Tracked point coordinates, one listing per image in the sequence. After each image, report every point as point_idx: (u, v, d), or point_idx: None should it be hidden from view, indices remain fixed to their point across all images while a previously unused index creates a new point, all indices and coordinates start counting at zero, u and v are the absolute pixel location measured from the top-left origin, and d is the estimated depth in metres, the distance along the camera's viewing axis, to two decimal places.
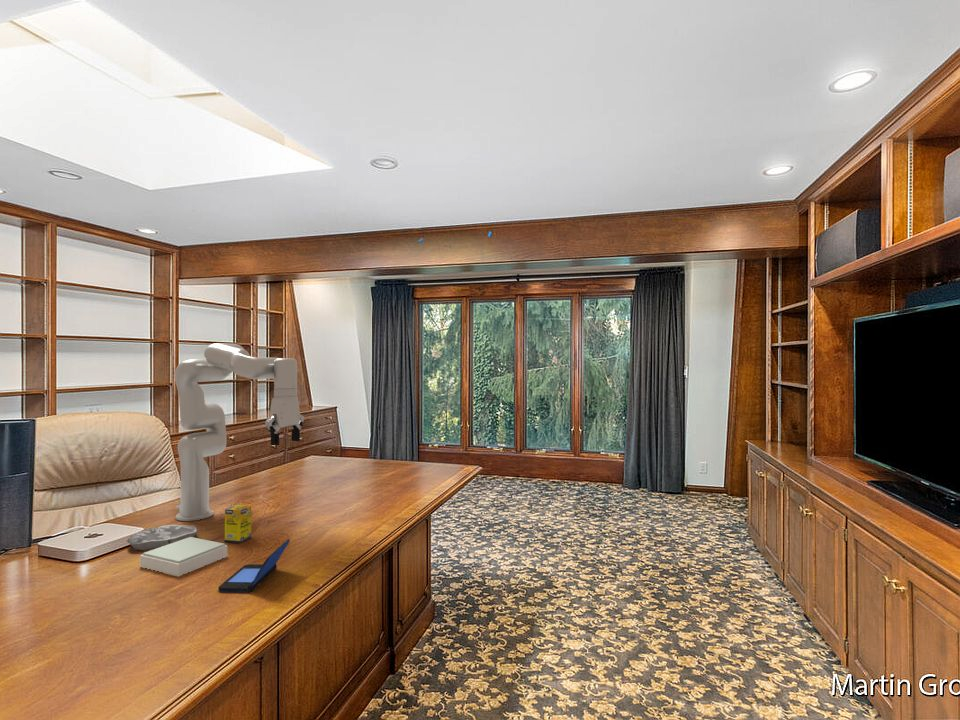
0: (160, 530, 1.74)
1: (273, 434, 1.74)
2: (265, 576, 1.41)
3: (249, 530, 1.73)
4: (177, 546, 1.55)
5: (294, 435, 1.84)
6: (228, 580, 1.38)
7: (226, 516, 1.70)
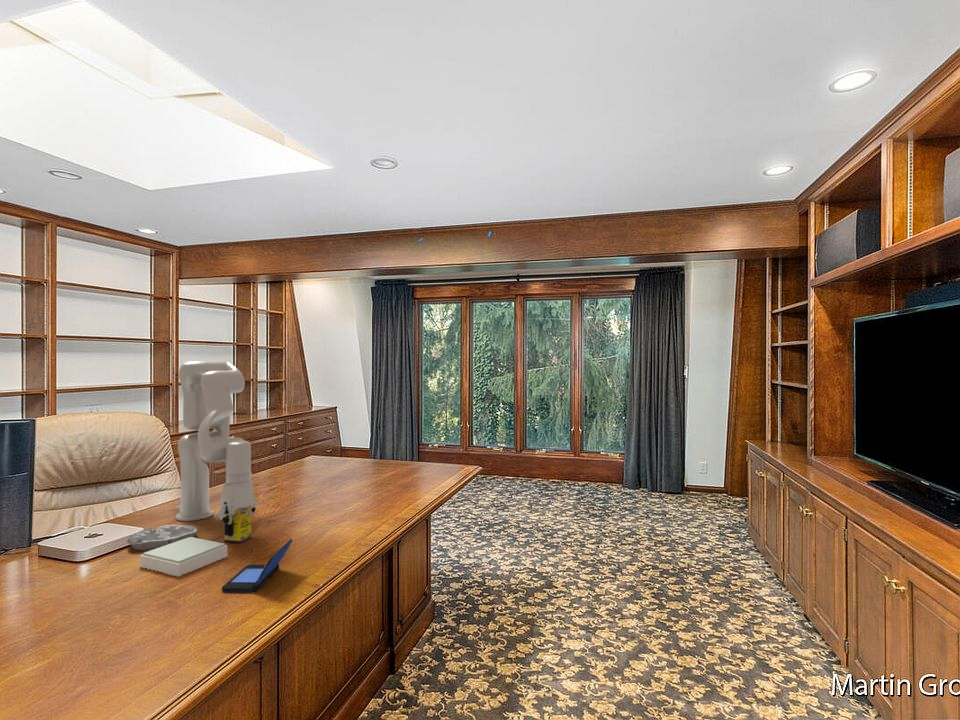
0: (160, 530, 1.74)
1: (227, 525, 1.68)
2: (268, 576, 1.41)
3: (249, 530, 1.73)
4: (177, 546, 1.55)
5: None
6: (231, 580, 1.38)
7: None
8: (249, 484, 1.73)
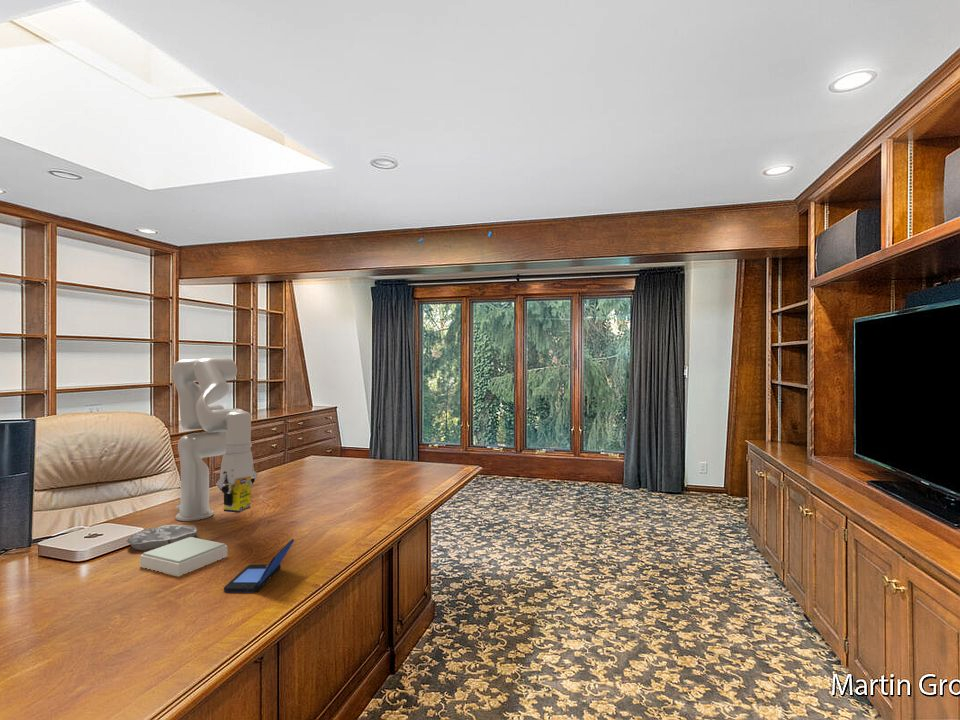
0: (160, 530, 1.74)
1: (226, 494, 1.68)
2: (270, 576, 1.41)
3: (248, 500, 1.74)
4: (177, 546, 1.55)
5: None
6: (233, 580, 1.37)
7: None
8: (249, 455, 1.74)
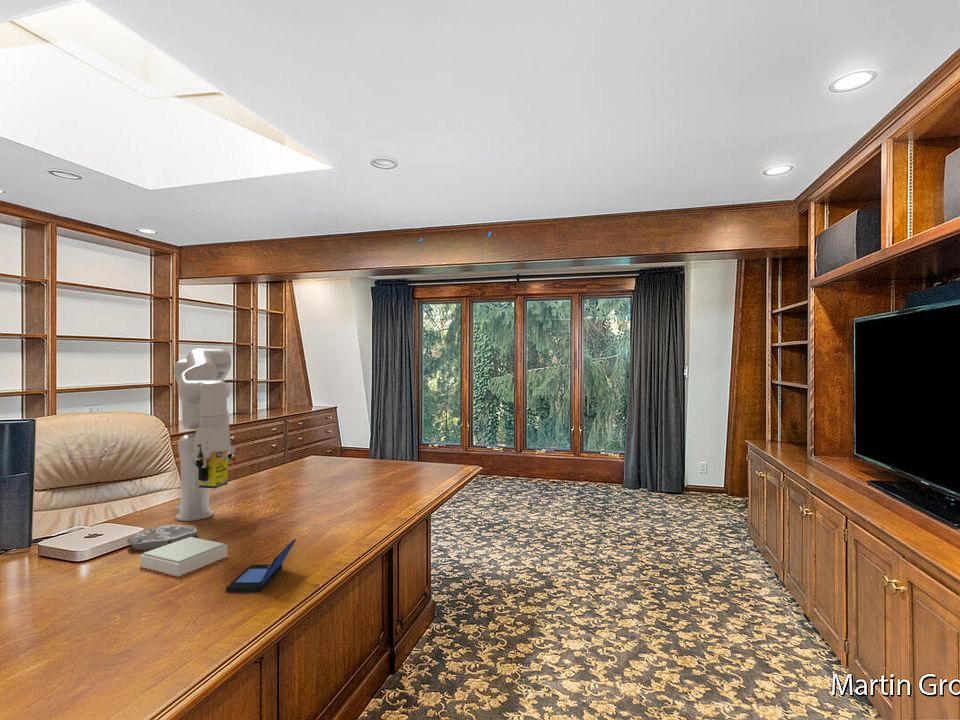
0: (160, 530, 1.74)
1: (201, 468, 1.58)
2: (272, 576, 1.41)
3: (225, 476, 1.64)
4: (177, 546, 1.55)
5: None
6: (235, 580, 1.37)
7: None
8: (225, 427, 1.64)
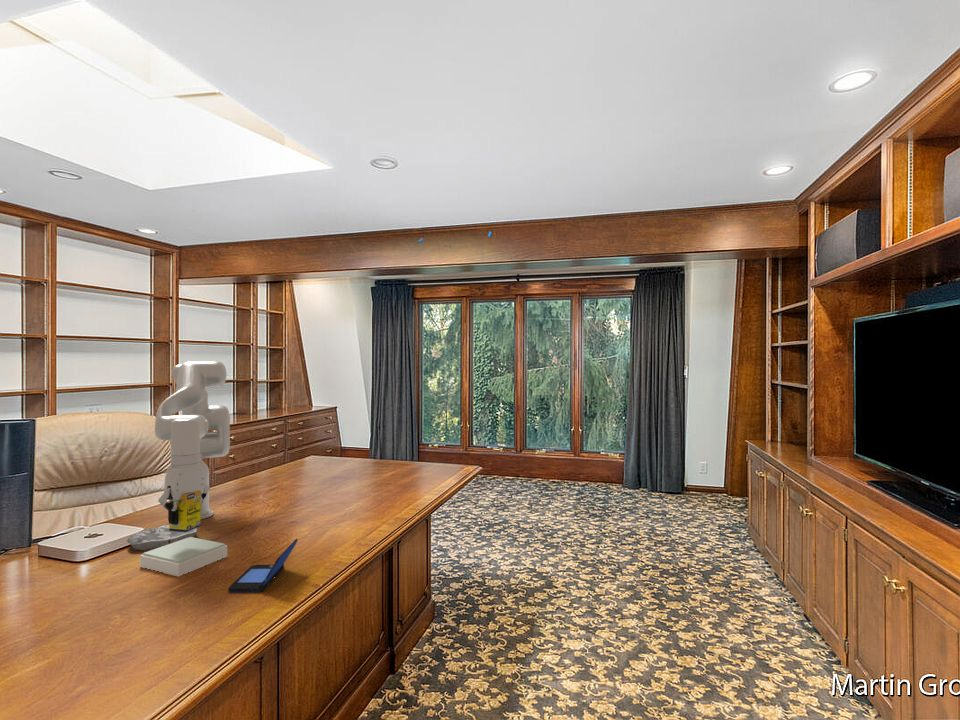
0: (160, 530, 1.74)
1: (171, 511, 1.49)
2: (274, 576, 1.41)
3: (198, 518, 1.54)
4: (177, 546, 1.55)
5: None
6: (237, 580, 1.37)
7: None
8: (198, 466, 1.55)
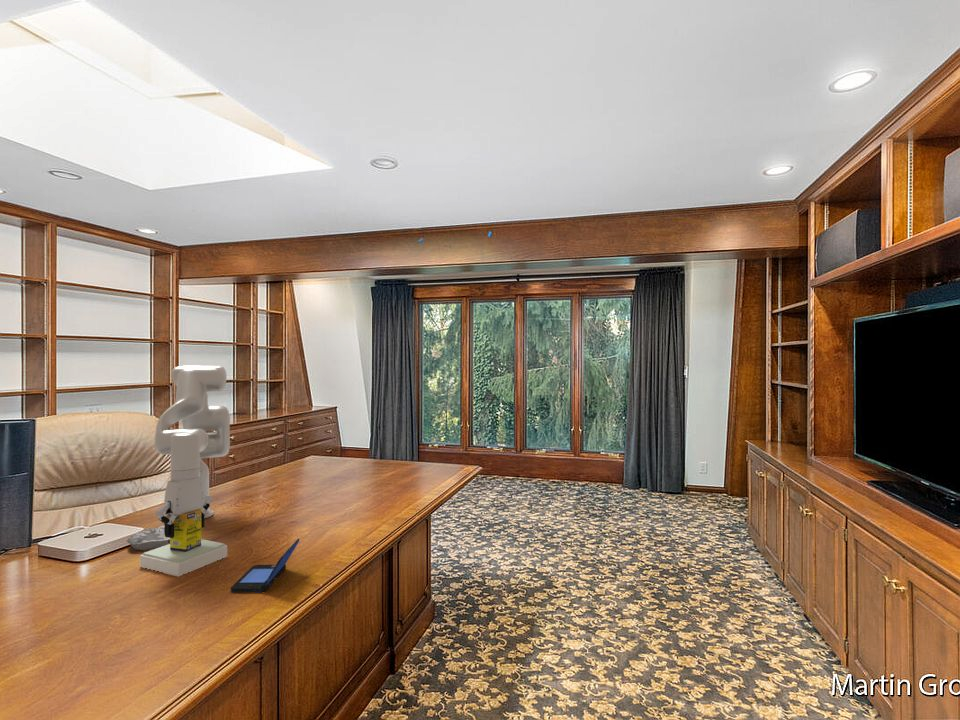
0: (160, 530, 1.74)
1: (167, 525, 1.48)
2: (276, 576, 1.41)
3: (199, 537, 1.55)
4: None
5: None
6: (239, 581, 1.37)
7: None
8: (198, 481, 1.55)
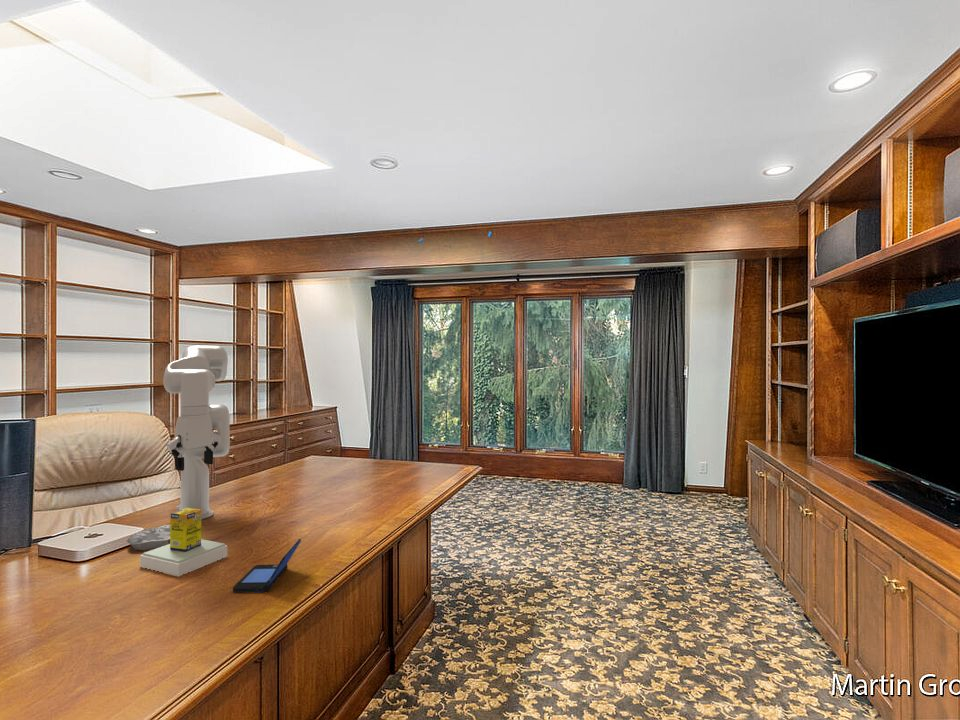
0: (160, 530, 1.74)
1: (177, 458, 1.53)
2: (278, 576, 1.42)
3: (199, 537, 1.55)
4: None
5: (207, 457, 1.63)
6: (241, 581, 1.37)
7: (172, 521, 1.52)
8: (207, 418, 1.60)
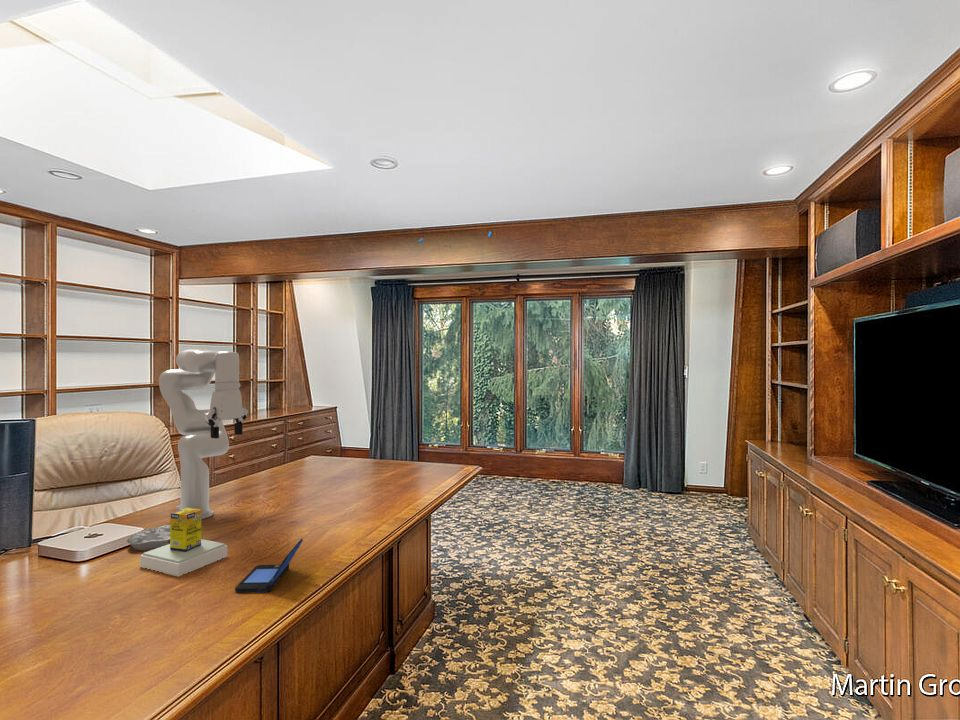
0: (160, 530, 1.74)
1: (213, 427, 1.74)
2: (280, 576, 1.42)
3: (199, 537, 1.55)
4: None
5: (237, 428, 1.84)
6: (244, 581, 1.37)
7: (172, 521, 1.52)
8: (237, 393, 1.81)
